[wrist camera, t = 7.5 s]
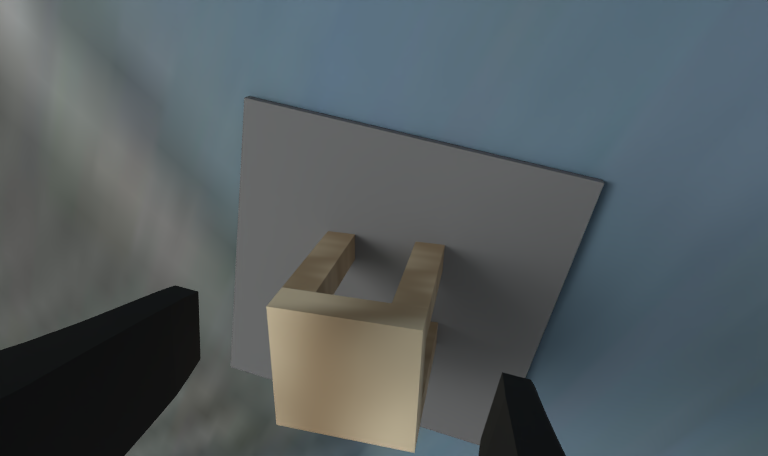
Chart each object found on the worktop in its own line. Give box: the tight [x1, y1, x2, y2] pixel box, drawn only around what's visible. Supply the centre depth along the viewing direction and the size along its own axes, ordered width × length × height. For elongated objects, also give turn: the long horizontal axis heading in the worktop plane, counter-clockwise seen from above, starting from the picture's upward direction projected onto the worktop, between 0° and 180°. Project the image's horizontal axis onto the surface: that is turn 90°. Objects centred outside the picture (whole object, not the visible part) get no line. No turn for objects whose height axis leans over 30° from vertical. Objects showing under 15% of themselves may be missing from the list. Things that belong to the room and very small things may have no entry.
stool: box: [266, 231, 445, 453], centre depth 18 cm, size 5×5×6 cm
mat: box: [230, 96, 604, 445], centre depth 21 cm, size 14×14×1 cm
